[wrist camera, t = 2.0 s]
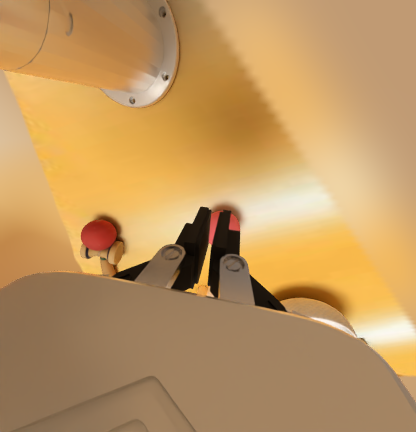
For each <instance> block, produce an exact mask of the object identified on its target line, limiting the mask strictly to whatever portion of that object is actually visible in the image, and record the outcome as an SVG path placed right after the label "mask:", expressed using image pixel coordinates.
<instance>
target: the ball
mask: <svg viewBox="0 0 416 432" xmlns="http://www.w3.org/2000/svg"><path fill="white" fill-rule="evenodd" d="M220 212H223V211H217V212H214V213H212V214H211V222H210V233H209V243H210V244H211V245H212V242H213V238H214V234H215V230H216V225H217V221H218V217H219V213H220ZM229 230H236V231H240V225H239V222H238V220H237V218H236V217H235V216H234V215H233V214H231V217H230V224H229Z"/></svg>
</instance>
